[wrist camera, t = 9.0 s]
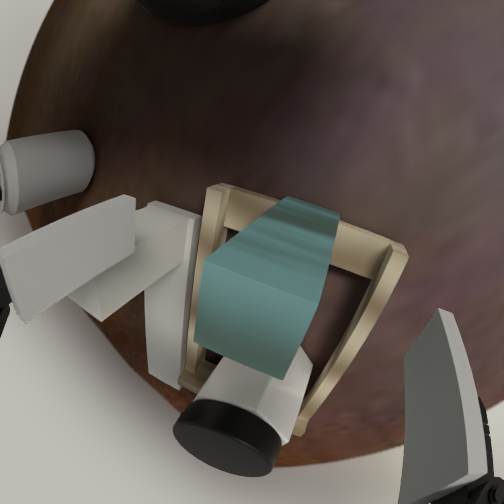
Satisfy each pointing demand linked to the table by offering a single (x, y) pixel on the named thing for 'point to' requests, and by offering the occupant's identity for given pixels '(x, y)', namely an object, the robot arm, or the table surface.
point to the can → (44, 169)
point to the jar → (243, 416)
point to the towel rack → (278, 286)
